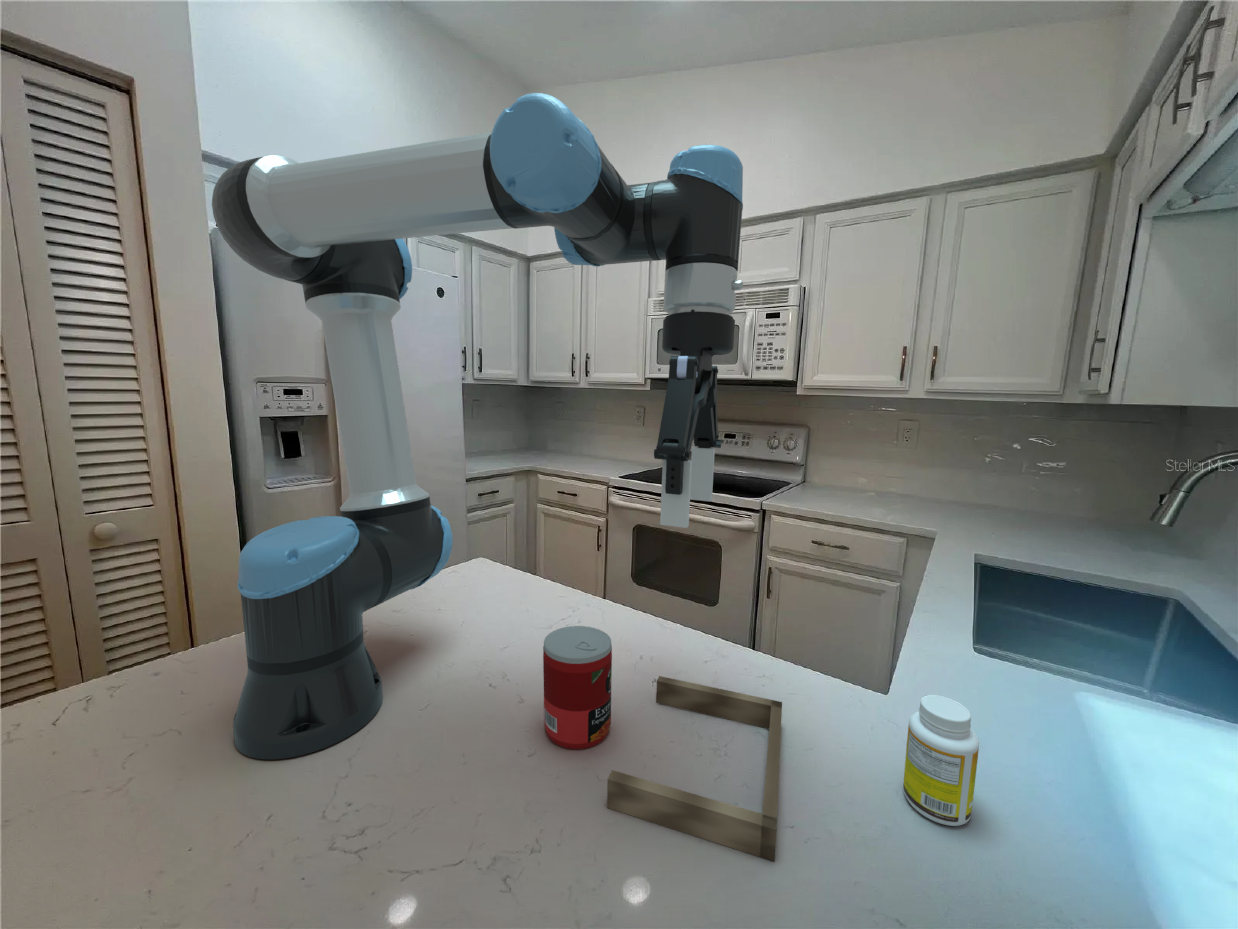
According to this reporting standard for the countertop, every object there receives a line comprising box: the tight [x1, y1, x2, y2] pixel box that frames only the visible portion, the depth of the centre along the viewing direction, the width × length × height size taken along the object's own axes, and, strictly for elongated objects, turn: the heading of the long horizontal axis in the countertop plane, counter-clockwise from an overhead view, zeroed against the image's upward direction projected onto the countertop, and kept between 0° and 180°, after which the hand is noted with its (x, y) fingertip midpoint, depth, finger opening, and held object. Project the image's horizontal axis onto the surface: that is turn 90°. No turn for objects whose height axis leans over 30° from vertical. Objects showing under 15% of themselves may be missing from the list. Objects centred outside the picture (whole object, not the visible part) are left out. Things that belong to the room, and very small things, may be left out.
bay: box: [606, 675, 783, 863], centre depth 51 cm, size 15×18×3 cm
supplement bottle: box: [902, 694, 980, 827], centre depth 46 cm, size 6×6×10 cm
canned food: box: [542, 625, 613, 750], centre depth 56 cm, size 8×8×11 cm
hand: (688, 511), depth 53 cm, fingers open, 13 cm apart
